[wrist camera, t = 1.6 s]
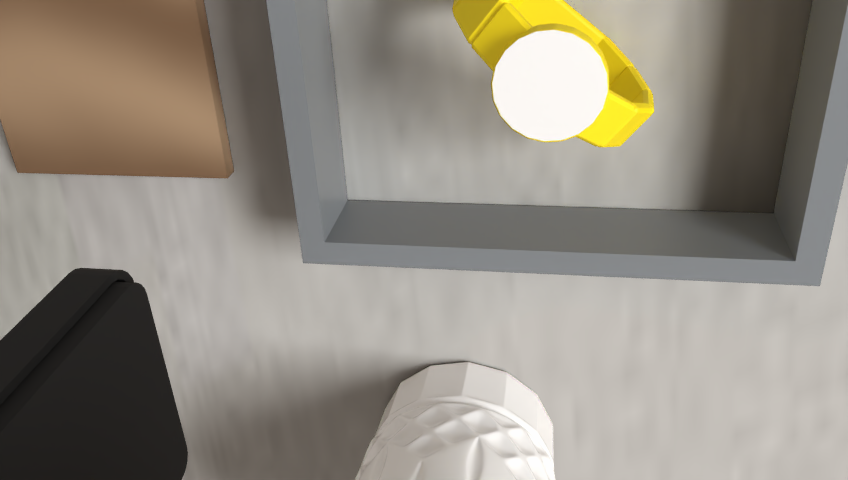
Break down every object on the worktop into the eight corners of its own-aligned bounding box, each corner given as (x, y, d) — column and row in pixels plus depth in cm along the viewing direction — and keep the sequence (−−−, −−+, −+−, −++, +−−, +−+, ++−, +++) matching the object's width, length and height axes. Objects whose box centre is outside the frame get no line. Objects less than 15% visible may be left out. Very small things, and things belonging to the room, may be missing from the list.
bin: (795, 236, 26) (819, 286, 23) (327, 219, 29) (303, 262, 26) (895, -260, 19) (944, -266, 17) (274, -223, 22) (234, -223, 19)
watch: (456, -1, 24) (408, 46, 19) (514, -78, 23) (481, -49, 18) (604, 125, 25) (597, 202, 20) (670, 57, 24) (681, 122, 19)
